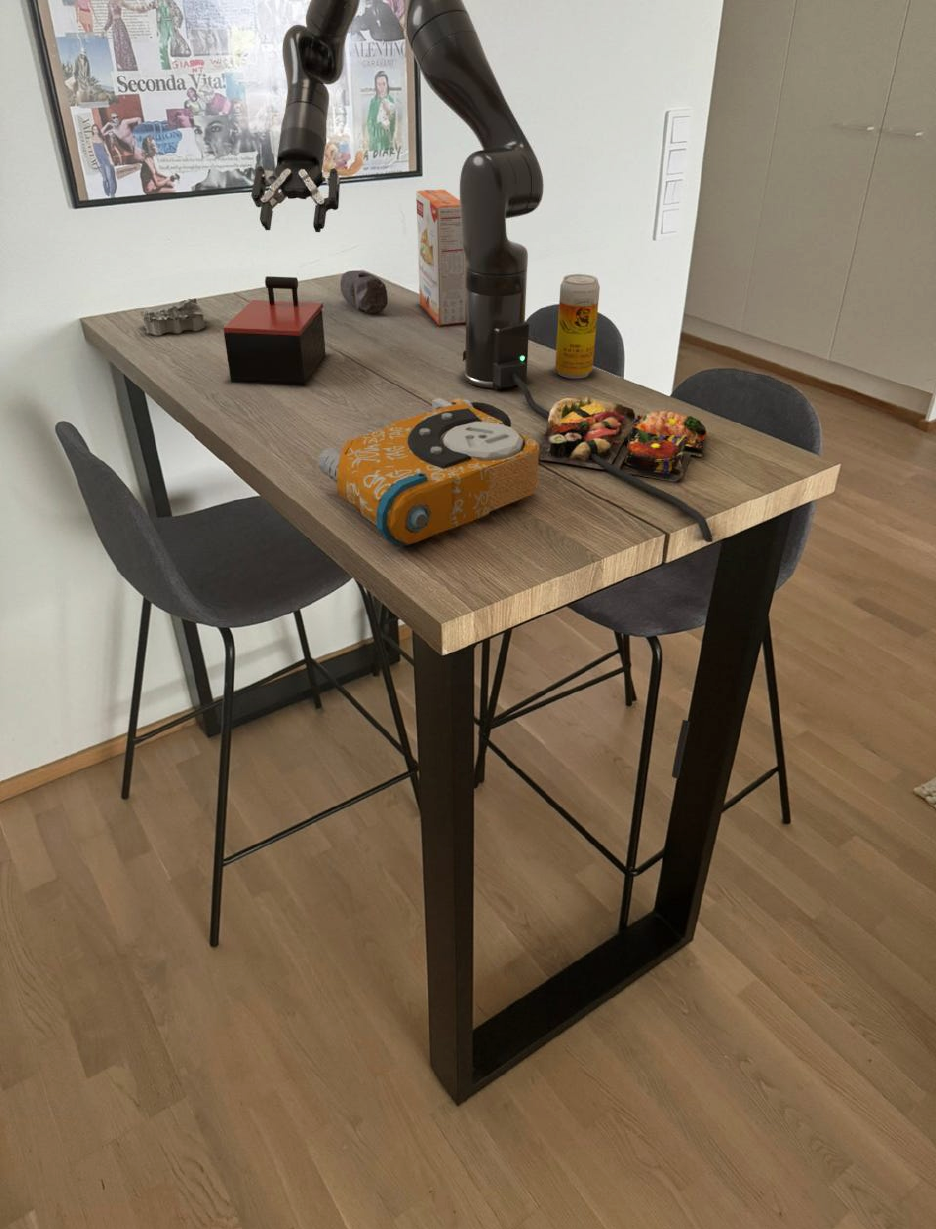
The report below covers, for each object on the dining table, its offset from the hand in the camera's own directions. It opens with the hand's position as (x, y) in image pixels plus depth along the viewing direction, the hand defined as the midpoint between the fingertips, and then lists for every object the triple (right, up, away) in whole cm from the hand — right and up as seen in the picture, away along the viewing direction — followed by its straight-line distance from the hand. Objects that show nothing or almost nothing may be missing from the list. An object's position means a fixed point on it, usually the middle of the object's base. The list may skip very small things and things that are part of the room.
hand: (291, 228), depth 148 cm
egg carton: (-24, -12, +16) cm, 31 cm away
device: (+26, -48, -35) cm, 65 cm away
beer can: (+46, -24, -1) cm, 52 cm away
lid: (-2, -17, -5) cm, 17 cm away
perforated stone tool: (+8, -4, +27) cm, 29 cm away
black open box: (-2, -23, -1) cm, 23 cm away
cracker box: (+24, -6, +24) cm, 35 cm away
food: (+51, -40, -23) cm, 69 cm away
